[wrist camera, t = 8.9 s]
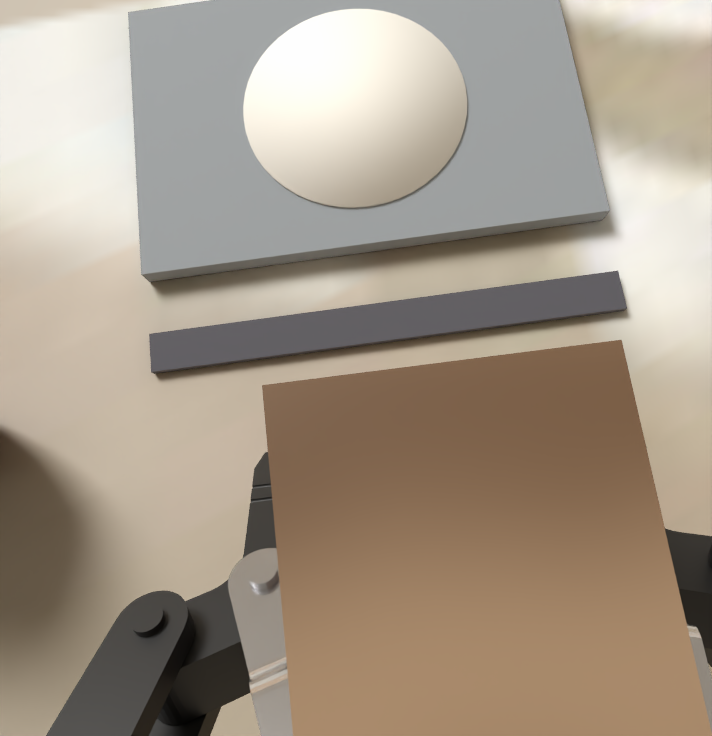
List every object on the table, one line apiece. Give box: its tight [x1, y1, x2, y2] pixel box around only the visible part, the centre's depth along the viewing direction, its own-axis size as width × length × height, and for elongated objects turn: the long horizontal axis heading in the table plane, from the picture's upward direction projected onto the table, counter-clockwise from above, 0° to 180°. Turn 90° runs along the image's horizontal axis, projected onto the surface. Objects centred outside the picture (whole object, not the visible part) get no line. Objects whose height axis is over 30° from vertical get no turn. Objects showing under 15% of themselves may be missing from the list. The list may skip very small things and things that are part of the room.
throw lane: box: [128, 0, 627, 374], centre depth 23 cm, size 16×18×1 cm
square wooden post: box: [262, 340, 712, 736], centre depth 12 cm, size 5×5×11 cm
